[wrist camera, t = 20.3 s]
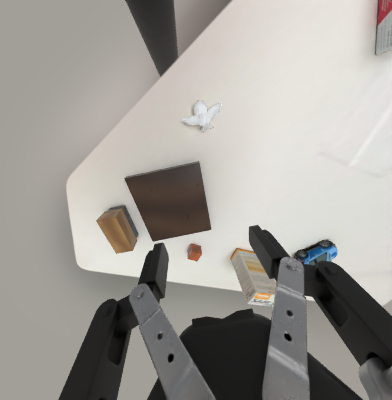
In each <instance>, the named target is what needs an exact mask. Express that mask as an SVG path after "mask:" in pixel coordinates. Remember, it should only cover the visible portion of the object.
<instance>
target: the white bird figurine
mask: <svg viewBox="0 0 392 400" xmlns="http://www.w3.org/2000/svg"><path fill="white" fill-rule="evenodd" d="M221 105H222V103H220V104H217V105H215V106H213V107H212V108H210V109H209V110H208V109H207V106H206V104H205V102H203V101H197V102H196V103H195V105H194V112H195V116H191V117H188V118H186V119H183V120H181V121H182V122H184V123H186V124H187V125H201V127H202V129H201V128H200V129H201V130H202V131H203V132H204V131H205V130H207V129H208V128H210V129H211V128H213V126H212V125H210V120H211V119H212V118H213V117H214V116H216V115H217V114H218V113H219V111H220V108H221Z"/></svg>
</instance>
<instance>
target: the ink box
mask: <svg viewBox="0 0 392 400" xmlns="http://www.w3.org/2000/svg"><path fill="white" fill-rule="evenodd" d="M389 50H392V0H379V11H378V29H377V45H376V55H379V54H382V53H384V52H387V51H389Z"/></svg>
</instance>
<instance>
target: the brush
mask: <svg viewBox="0 0 392 400" xmlns="http://www.w3.org/2000/svg"><path fill="white" fill-rule="evenodd" d="M96 221H97V223H98V225H99V226H100V228H101V230H102V231H103V233H104V234H105V236H106V238H107V239H108V241H109V242H110V244H111V246H112V247H113V249H114V251H115V252H116V254H117V253H123V252H128V251H133V249H134V247H135V244H136V242H137V236H138V232H137V230H136V228H135V226H134V224H133V222H132V219H131V217H130V215H129V213H128V211H127V209H126V207H125V206H120V207H115V208H110V209H109V210H108V211H107V212H104V213H103V214H102V215H101V216H100V217H99V218H98V219H97V220H96Z"/></svg>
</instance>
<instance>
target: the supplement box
mask: <svg viewBox="0 0 392 400" xmlns="http://www.w3.org/2000/svg"><path fill="white" fill-rule="evenodd" d="M231 261H232V264H233V266H234V269H235V272H236V274H237V277H238V280H239V283H240V285H241V288H242V291H243V293H244V296H245V298H246V302H247V304H255V305H263V306H272V307H273V304H274V297H275V290H276V281H275V279H269V277H268V275H267V273H266V272H265V270H264V268H263V266H262V265H261V263H260V261H259V259H258V258H257V256H256V254H255V252H250V251H246V250H241V249H236V251H235V252H234V254H233V255H232V257H231Z"/></svg>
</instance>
